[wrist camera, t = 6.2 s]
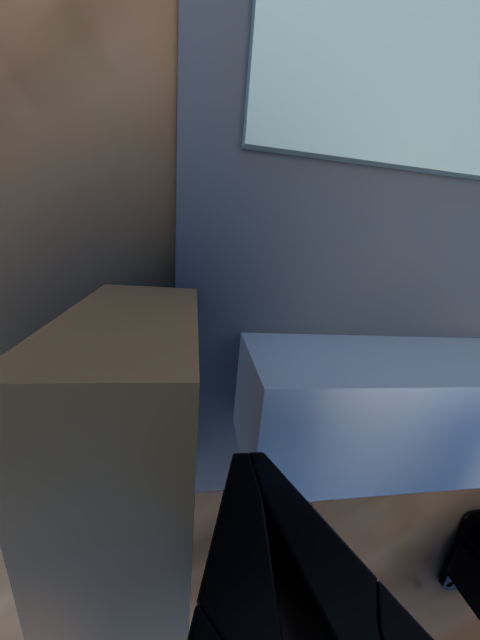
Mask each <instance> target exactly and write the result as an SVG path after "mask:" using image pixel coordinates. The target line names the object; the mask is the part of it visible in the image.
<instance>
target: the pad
mask: <svg viewBox="0 0 480 640" xmlns="http://www.w3.org/2000/svg"><path fill="white" fill-rule="evenodd" d="M242 149H249V150H257V151H264V152H272V153H279V154H286V155H294V156H301V157H309V158H316V159H324V160H331V161H339V162H346V163H354V164H361V165H369V166H376V167H384V168H391V169H399V170H406V171H414V172H421V173H429V174H436V175H443V176H451V177H458V178H466V179H473V180H480V0H253V5H252V19H251V32H250V45H249V59H248V72H247V86H246V99H245V112H244V126H243V139H242Z"/></svg>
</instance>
